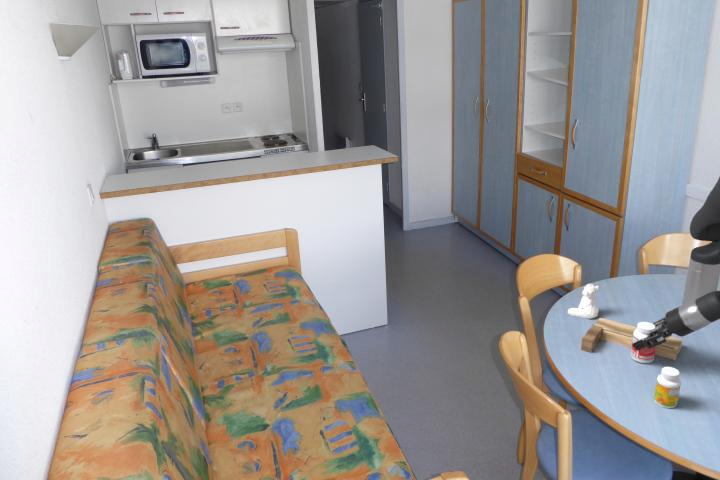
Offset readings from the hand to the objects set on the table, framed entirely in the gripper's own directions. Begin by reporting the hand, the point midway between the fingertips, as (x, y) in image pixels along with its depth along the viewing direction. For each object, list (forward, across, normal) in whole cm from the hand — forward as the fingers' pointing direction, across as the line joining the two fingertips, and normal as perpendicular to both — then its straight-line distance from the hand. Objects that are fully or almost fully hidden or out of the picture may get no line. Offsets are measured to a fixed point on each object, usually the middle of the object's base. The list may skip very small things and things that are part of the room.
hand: (637, 342), depth 162 cm
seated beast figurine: (+18, -18, -10) cm, 27 cm away
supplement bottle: (-4, +18, +12) cm, 22 cm away
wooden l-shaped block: (+5, -4, +2) cm, 7 cm away
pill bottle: (+2, 0, +5) cm, 5 cm away
